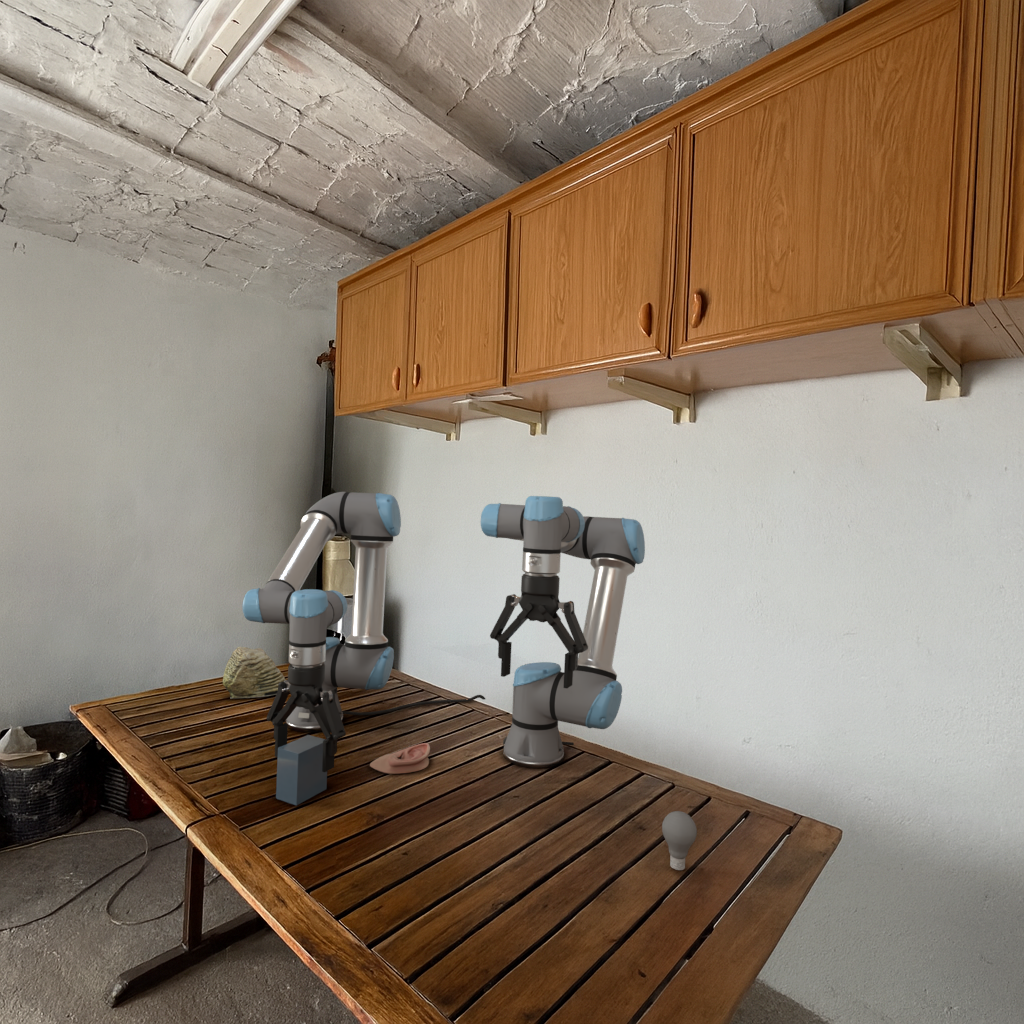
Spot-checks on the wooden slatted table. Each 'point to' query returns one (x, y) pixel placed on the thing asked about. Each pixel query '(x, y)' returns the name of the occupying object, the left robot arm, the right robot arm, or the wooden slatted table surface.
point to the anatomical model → (404, 760)
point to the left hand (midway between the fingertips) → (303, 762)
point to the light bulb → (679, 837)
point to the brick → (300, 770)
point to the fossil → (251, 674)
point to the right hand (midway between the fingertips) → (535, 680)
